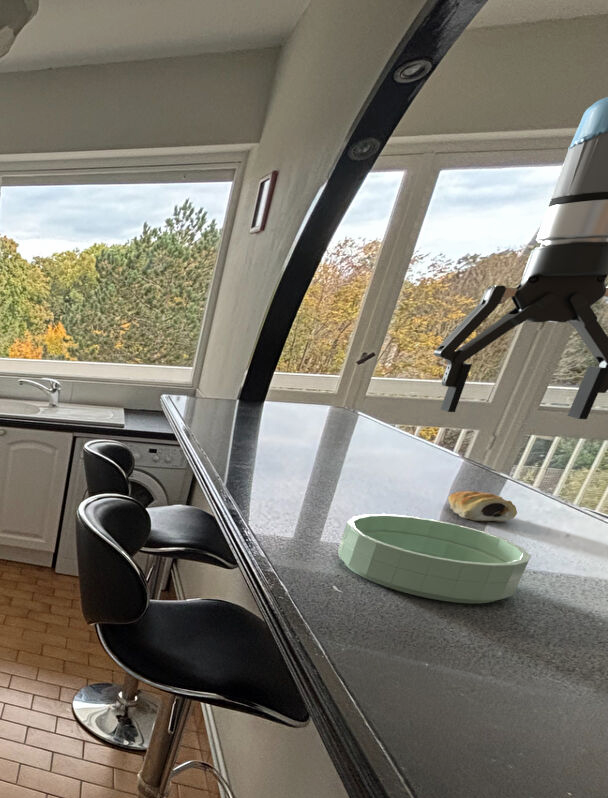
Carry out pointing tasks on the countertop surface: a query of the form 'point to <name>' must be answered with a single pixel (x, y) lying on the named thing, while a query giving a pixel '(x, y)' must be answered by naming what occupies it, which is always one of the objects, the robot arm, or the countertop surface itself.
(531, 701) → the countertop surface
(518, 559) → the bowl
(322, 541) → the countertop surface
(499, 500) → the pastry
